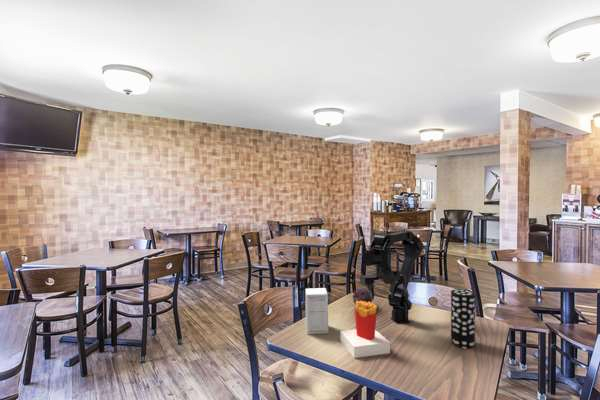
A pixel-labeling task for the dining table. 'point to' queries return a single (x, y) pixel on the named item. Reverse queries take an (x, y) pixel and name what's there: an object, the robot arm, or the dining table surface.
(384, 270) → the robot arm
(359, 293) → the pine cone
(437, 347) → the dining table surface
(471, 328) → the white-spotted black cylinder
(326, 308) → the supplement box
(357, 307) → the french fries
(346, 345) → the white flat square block
